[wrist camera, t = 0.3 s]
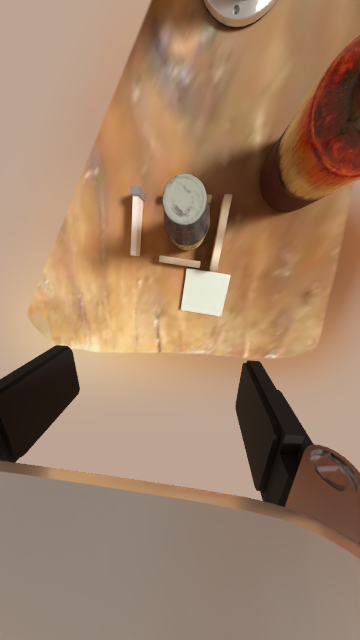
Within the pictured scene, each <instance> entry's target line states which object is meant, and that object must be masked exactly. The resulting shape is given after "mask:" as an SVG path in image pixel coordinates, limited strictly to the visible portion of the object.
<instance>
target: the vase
mask: <svg viewBox="0 0 360 640" xmlns="http://www.w3.org/2000/svg"><path fill="white" fill-rule="evenodd" d="M358 180H360V36H358V37H357V38H356V39H354V40H353V41H352V42H351V43H350V44H349V45H348V46H346V47H345V48H344V49H343V50H342V52H341V53H340V54H339V55H338V56H337V57H336V58H335V59H334V61H333V62H332V63H331V65H330V66H329V67H328V69H327V70H326V72H325V73H324V74H323V76H322V77H321V79H320V80H319V82H318V83H317V84H316V86H315V87H314V89H313V90H312V92H311V93H310V95H309V96H308V98H307V99H306V100H305V102H304V103H303V105H302V106H301V108H300V109H299V111H298V112H297V114H296V115H295V117H294V118H293V120H292V121H291V122H290V124H289V125H288V127H287V128H286V130H285V131H284V133H283V134H282V136H281V137H280V139H279V140H278V142H277V143H276V145H275V146H274V148H273V149H272V151H271V152H270V154H269V155H268V157H267V159H266V161H265V163H264V165H263V168H262V172H261V178H260V187H261V192H262V195H263V197H264V199H265V201H266V202H267V204H269V205H270V206H271V207H272V208H274V209H276V210H278V211H283V212H289V211H295V210H298V209H300V208H303V207H305V206H307V205H309V204H311V203H313V202H315V201H317V200H319V199H321V198H323V197H325V196H327V195H329V194H331V193H333V192H336V191H338V190H340V189H342V188H344V187H346V186H348V185H350V184H352V183H354V182H356V181H358Z"/></svg>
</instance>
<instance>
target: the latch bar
mask: <svg viewBox="0 0 360 640" xmlns="http://www.w3.org/2000/svg"><path fill="white" fill-rule="evenodd" d="M130 194H131V195H132V196H133V205H132V230H131V255H134V256H140V249H141V232H142V215H143V201H145V193H144V191H143V190H142V189H141V188H140V187H137V186H131V190H130Z"/></svg>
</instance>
